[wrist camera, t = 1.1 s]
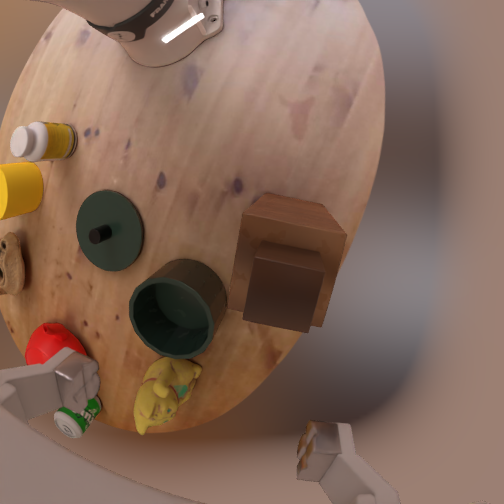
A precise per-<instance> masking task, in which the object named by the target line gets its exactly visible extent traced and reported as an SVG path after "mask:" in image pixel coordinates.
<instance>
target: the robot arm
mask: <svg viewBox="0 0 504 504" xmlns="http://www.w3.org/2000/svg"><path fill="white" fill-rule="evenodd" d="M31 1H40V2H46V3H50V4H54V5H57V6H60V7H62V8H64V9H66V10H69V11H71V12H73V13H75V14H77V15H78V16H80V17H82V18H84V19H86V21H87V23H88V24H89V25H90V26H92V27H93V28H95V29H96V30H98V31H100V32H101V33H103V34H105V35H106V36H108V37H110V38H112V39H115V40H117V41H118V42H119V43H120V44H121V45H122V46H123V47H124V48H125V50H126V51H127V53H128V54H129V56H130V57H131V58H132V60H134V61H135V62H136V63H138V64H140V65H143V66H148V67H160V66H165V65H169V64H172V63H174V62H176V61H178V60H180V59H182V58H184V57H185V56H187V55H188V54H189V53H191V52H192V51H193V50H194V49H195V48H196V47H197V46H198V45H199V44H200V43H201V42H203V41H204V40H205V39H208V38H210V37H212V36H214V35H216V34H218V33H219V32H220V31H221V30H222V28H223V0H31ZM215 19H216V21H215V22H212V21H213V20H215ZM98 370H99V364H98V362H97V361H96V360H94V359H92V358H90V357H88V356H86V355H84V354H81V353H79V352H77V351H75V350H73V349H71V348H69V347H64V348H63V349H61V350H60V351H59V352H58V353H56V354H55V355H54V356H53V357H51V358H50V359H49V360H48V361H47V362H45V363H44V364H43V365H42V364H40V363H39V364H33V365H27V366H22V367H16V368H9V369H3V370H0V504H205V503H201V502H197V501H194V500H190V499H186V498H183V497H180V496H176V495H173V494H170V493H167V492H164V491H161V490H158V489H155V488H153V487H150V486H147V485H144V484H142V483H139V482H137V481H134V480H131V479H129V478H127V477H124V476H122V475H120V474H117V473H115V472H113V471H111V470H108V469H106V468H104V467H102V466H100V465H98V464H95V463H93V462H92V461H90V460H88V459H86V458H84V457H82V456H80V455H78V454H76V453H74V452H72V451H71V450H69V449H67V448H65V447H64V446H62V445H60V444H58V443H57V442H55V441H53V440H52V439H50V438H48V437H47V436H45V435H44V434H42V433H41V432H39V431H37V430H36V429H34V428H33V427H31V426H30V425H29V423H28V421H27V420H29V419H32V418H34V417H37V416H40V415H43V414H45V413H48V412H50V411H53V410H56V409H58V408H61V407H63V406H64V407H66V408H68V409H70V410H72V411H74V412H76V413H78V414H80V413H81V412H82V411H83V410H84V409H85V408H86V406H87V405H88V400H89V399H93V398H94V397H95V396H96V395H97V393H98V391H99V388H100V377H99V375H98V374H97V371H98ZM297 457H298V459H299V460H300V461H299V463H298V465H297V480H305V481H314V482H319V484H320V486H321V487H322V489H323V490H324V492H325V493H326V495H327V496H328V498H329V499H330V500H331V502H332V503H333V504H401V503H400V499H399V495H398V492H397V491H396V490H395V489H394V488H393V487H392V486H391V485H390V484H389V483H388V482H387V481H386V480H385V479H383V477H381V476H380V475H379V474H378V473H377V472H376V471H375V470H374V469H373V468H372V467H371V466H370V465H369V464H368V463H367V462H366V461H365V460H364V459H363V458H362V457H361V456H360V455H356V451H355V446H354V440H353V435H352V430H351V426H350V424H344V423H332V422H323V421H315V420H310V421H309V422H308V424H307V426H306V433H304V434H303V435H302V437H301V439H300V441H299V445H298V450H297ZM470 504H490V503H488V502H486V501H478V502H474V503H470Z"/></svg>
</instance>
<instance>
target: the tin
mask: <svg viewBox="0 0 504 504" xmlns="http://www.w3.org/2000/svg"><path fill="white" fill-rule="evenodd" d="M226 306H227V296H226V291H225V288H224V285H223V283H222V281H221V280H220V278H219V277H218V276H217V274H216V273H215V272H214V271H213V270H212V269H210V268H209V267H208V266H206V265H204V264H202V263H200V262H198V261H194V260H189V259H179V260H175V261H172V262H169V263H167V264H166V265H165V266H163V267H162V268H161V269H159V270H158V271H157V272H155V273H154V274H153V275H152V276H150V277H149V278H148V279H147V280H145V281H144V282H143V283H142V284H140V285H139V286H138V287H137V288H136V289H135V290H134V292H133V295H132V297H131V299H130V301H129V317H130V320H131V323H132V325H133V328H134V331H135V332H136V334H137V335H138V336H139V337H140V339H141V340H142V341H143V342H144V344H145V345H146V346H148V347H149V348H151V349H152V350H154V351H155V352H157V353H158V354H160V355H162V356H166V357H169V358H173V359H190V358H193V357H195V356H197V355H199V354H201V353H203V352H204V351H205V350H206V348H207V347H208V346H209V344H210V343H211V341H212V340H213V338H214V335H215V333H216V331H217V329H218V327H219V325H220V323H221V321H222V319H223V317H224V314H225V310H226Z"/></svg>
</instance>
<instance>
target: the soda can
mask: <svg viewBox="0 0 504 504" xmlns="http://www.w3.org/2000/svg"><path fill="white" fill-rule="evenodd" d="M100 410H101V404H100V400H99V398H98V397H97V395H96V396H95V397H94V398H93V399H89V400H88V405H87V406H86V408H85V409H84V410H83V411H82V412H81V413H80V414H78V413H76V412H74V411H72V410H70V409H68V408H66V407H64V406H63V407H61V408H59V409H58V411H57V412H56V413H55V415H54V418H55V424H56V426H57V427H58V428H59V430H60V431H61V432H63V433H64V434H65V435H67V436H68V437H71V438H79V437H81V436H82V434H83V433H84V432H85V431H86V429H87V428H88V426H89V425H90V424H91V422H92V421H93V420H94V418H95V417H96V416H97V414H98V413H99V412H100Z"/></svg>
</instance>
